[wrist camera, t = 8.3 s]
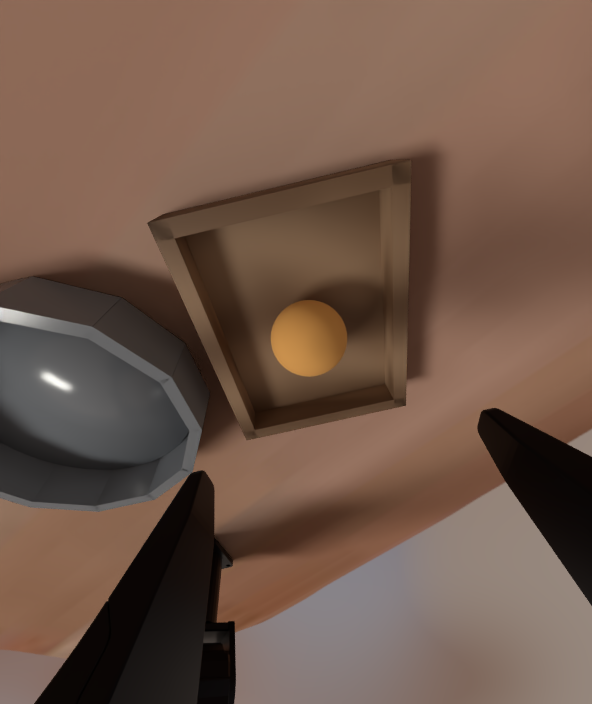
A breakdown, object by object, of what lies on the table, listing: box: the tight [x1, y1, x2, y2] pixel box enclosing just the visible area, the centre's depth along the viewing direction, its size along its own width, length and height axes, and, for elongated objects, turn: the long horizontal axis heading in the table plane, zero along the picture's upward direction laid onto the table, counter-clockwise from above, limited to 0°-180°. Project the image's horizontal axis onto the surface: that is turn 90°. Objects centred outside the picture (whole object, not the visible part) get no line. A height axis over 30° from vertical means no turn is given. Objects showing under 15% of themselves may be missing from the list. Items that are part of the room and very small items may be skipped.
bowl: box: [0, 276, 210, 512], centre depth 18 cm, size 15×15×3 cm
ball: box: [271, 300, 347, 377], centre depth 15 cm, size 4×4×4 cm
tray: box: [148, 160, 412, 440], centre depth 17 cm, size 14×11×2 cm
